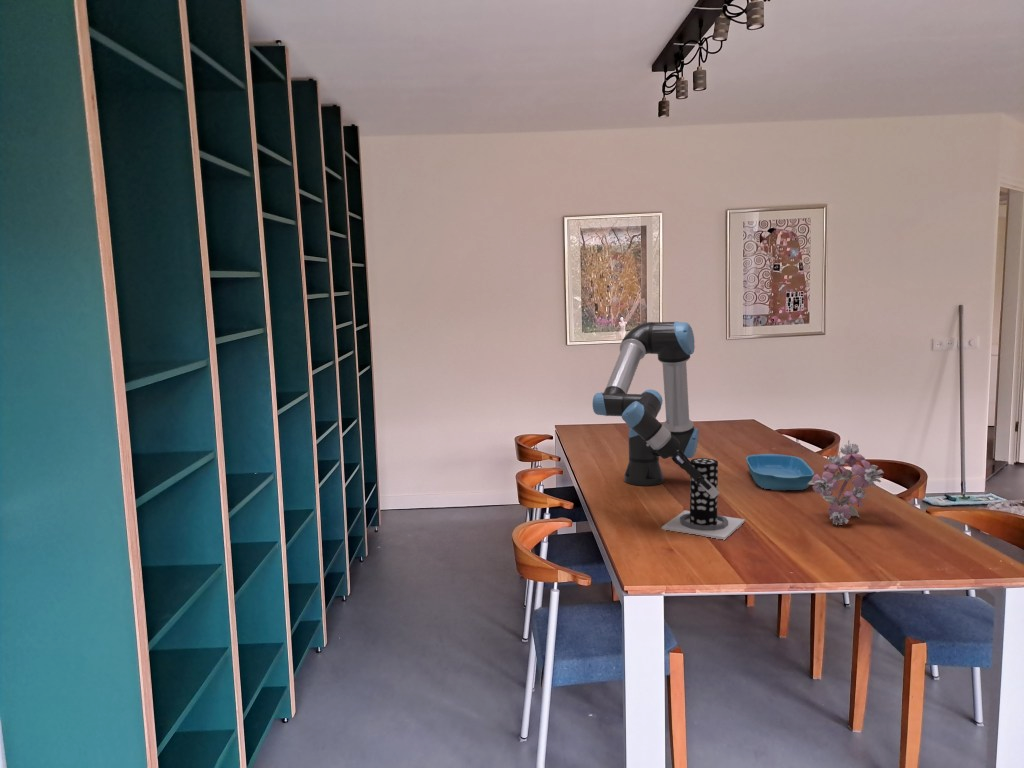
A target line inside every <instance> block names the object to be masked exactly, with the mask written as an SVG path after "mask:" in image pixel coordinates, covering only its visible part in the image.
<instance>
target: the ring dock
mask: <svg viewBox="0 0 1024 768" xmlns="http://www.w3.org/2000/svg"><path fill="white" fill-rule="evenodd" d="M745 520H746V519H744V518H739V517H731V516H724V515H720V514H718V513H717V525H697V524H692V523H690V510H686V509H685V510H683V511H682V512H681V513H679V514H678V515H676V516H675V517H673V518H672V519H670V520H669V521H668V522H666V523H665V524H663V525H662V526H661V530H662V529H665V530H664V531H666V530H670V531H669V532H671V531H677V532H683V533H689V534H696V535H702V536H706V537H711V538H710V539H712V538H716V539H715V540H718V539H723V540H722V541H724V540H725V539H726V538H727V537H728V536H729V537H731V536H732V535H733V534H734V533H735V532H736V531H737V530H738V529H739V528H740V527H742V526H743V525H744V524H745V523H744V522H746V521H745ZM743 523H744V524H743ZM742 524H743V525H742ZM736 529H737V530H736ZM735 530H736V531H735ZM734 531H735V532H734ZM677 532H676V533H677ZM733 532H734V533H733ZM683 533H682V534H683ZM732 533H733V534H732ZM689 534H688V535H689ZM731 534H732V535H731ZM730 535H731V536H730ZM706 537H705V538H706ZM729 537H728V538H729ZM728 538H727V539H728ZM727 539H726V540H727ZM726 540H725V541H726Z"/></svg>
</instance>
